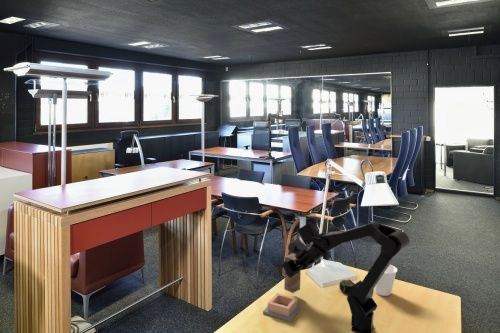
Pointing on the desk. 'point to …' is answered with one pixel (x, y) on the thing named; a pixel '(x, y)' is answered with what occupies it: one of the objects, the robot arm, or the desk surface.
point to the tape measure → (346, 285)
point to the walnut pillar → (292, 278)
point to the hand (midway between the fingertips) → (289, 271)
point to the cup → (386, 281)
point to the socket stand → (282, 307)
